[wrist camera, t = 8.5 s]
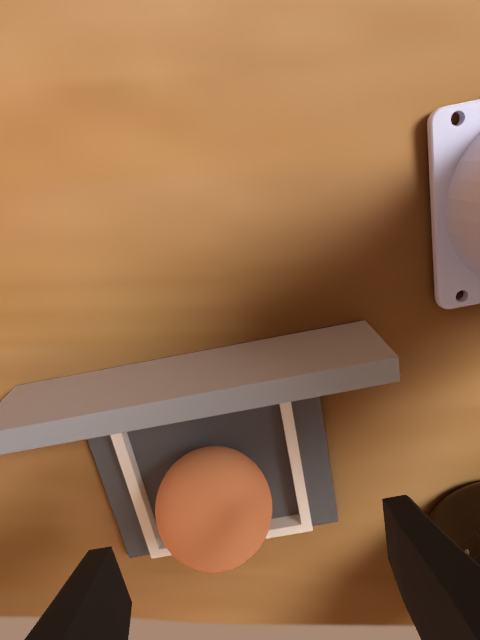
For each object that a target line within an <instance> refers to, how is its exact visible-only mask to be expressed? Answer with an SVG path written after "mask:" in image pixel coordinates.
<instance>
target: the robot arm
mask: <svg viewBox="0 0 480 640" xmlns="http://www.w3.org/2000/svg"><path fill="white" fill-rule="evenodd" d="M454 112H457V113H458V114H459V117H460V119H459V123H458V124H457V125H456V126H454V125H453V124H452V122H451V116H452V114H453V113H454ZM427 133H428V156H429V178H430V201H431V223H432V245H433V268H434V290H435V301H436V303H437V304H438V305H439V306H440V307H442V308H444V309H454V308H459V307H464V306H470V305H475V304H480V99H478V100H474V101H469V102H464V103H459V104H454V105H449V106H444V107H440V108H438V109H435V110H434V111H433V112H432V113H431V114H430V116H429V118H428V122H427ZM461 290H463V292H464V293H463V296H462V297H461V298H460V299H458V300H456V294H457V293H458V292H459V291H461ZM382 501H383V511H384V521H385V530H386V540H387V550H388V559H389V562H390V565H391V568H392V570H393V573H394V576H395V579H396V582H397V585H398V587H399V590H400V593H401V596H402V598H403V601H404V603H405V605H406V608H407V610H408V612H409V614H410V616H411V618H412V621H413V623H414V625H415V627H416V629H417V631H418V633H419V636H420V638H421V640H480V565H479V564H478V563H477V562H476V561H475V560H473V559H472V558H471V557H470V556H469V555H468V554H467V553H466V552H465V551H464V550H462V549H461V548H460V547H459V546H458V545H457V544H456V543H455V542H454V541H453V540H452V539H450V538H449V537H448V536H447V535H446V534H445V533H444V532H443V531H442V530H441V529H440V528H439V527H438V526H437V525H436V524H435V523H434V522H433V521H432V520H431V519H430V518H429V517H428V516H427V515H426V514H425V513H424V512H423V511H422V510H421V509H420V508H419V507H418V506H417V505H416V503H415V502H414V501H413V500H412V499H411V498H410V497H408V496H407V495H402V496H396V497H390V498H385V499H382ZM131 607H132V601H131V599H130V596H129V593H128V590H127V588H126V585H125V582H124V580H123V577H122V574H121V572H120V569H119V566H118V563H117V561H116V558H115V555H114V553H113V550H112V547H105V548H99V549H94V550H89V551H88V552H87V554H86V555H85V556H84V558H83V559H82V560H81V562H80V563H79V565H78V566H77V567H76V569H75V570H74V572H73V573H72V575H71V576H70V577H69V579H68V580H67V582H66V583H65V584H64V586H63V587H62V589H61V590H60V592H59V593H58V594H57V596H56V597H55V599H54V600H53V601H52V603H51V604H50V606H49V607H48V608H47V610H46V611H45V612H44V614H43V615H42V617H41V618H40V619H39V621H38V622H37V623H36V625H35V626H34V628H33V629H32V630H31V632H30V633H29V635H28V636H27V637H26V638H25V640H128V635H129V627H130V617H131Z"/></svg>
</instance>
